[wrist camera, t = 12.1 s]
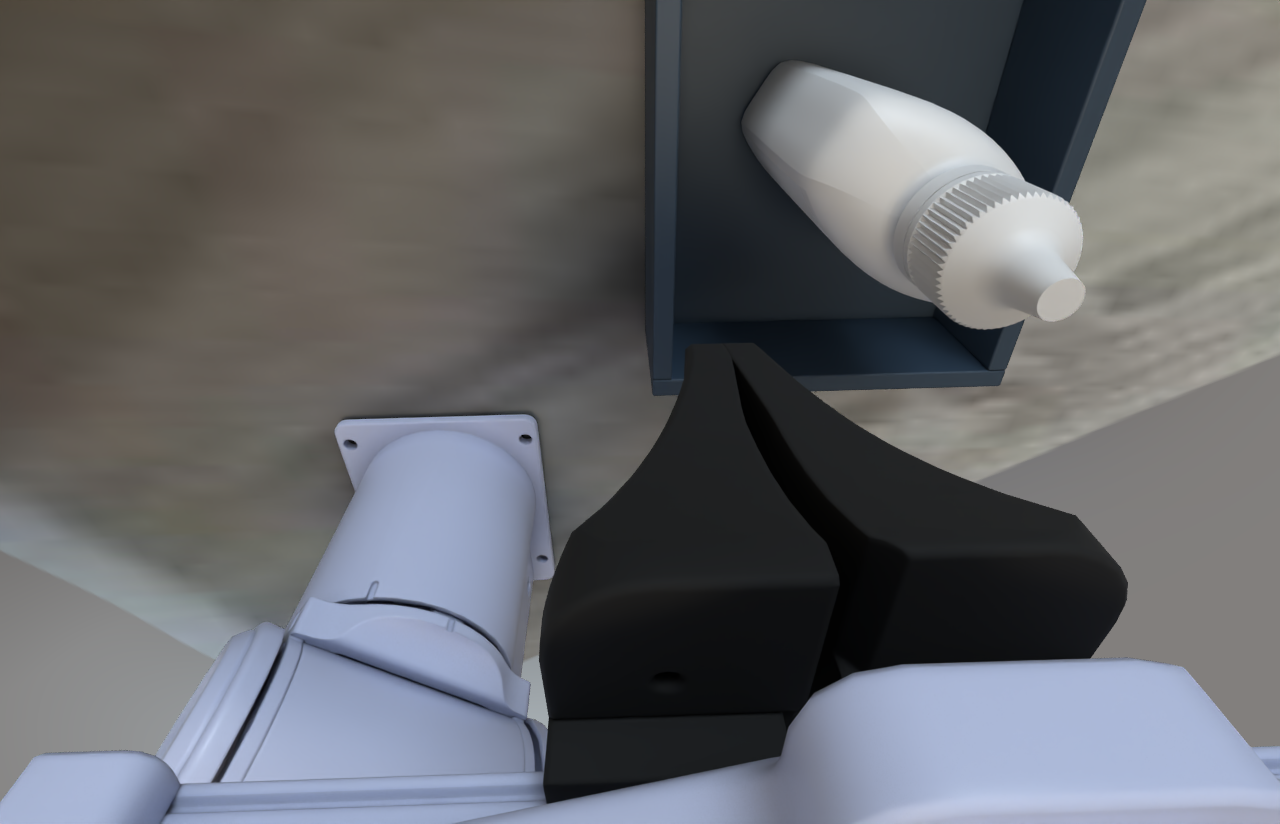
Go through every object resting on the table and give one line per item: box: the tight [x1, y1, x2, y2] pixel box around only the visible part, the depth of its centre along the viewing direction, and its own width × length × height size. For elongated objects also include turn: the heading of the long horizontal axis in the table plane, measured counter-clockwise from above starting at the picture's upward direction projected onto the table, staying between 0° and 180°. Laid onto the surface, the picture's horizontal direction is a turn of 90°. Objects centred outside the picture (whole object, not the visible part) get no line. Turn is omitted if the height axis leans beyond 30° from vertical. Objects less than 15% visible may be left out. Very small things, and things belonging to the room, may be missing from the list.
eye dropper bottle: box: [741, 60, 1086, 330], centre depth 14 cm, size 4×6×12 cm
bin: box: [645, 0, 1146, 396], centre depth 18 cm, size 13×11×4 cm
